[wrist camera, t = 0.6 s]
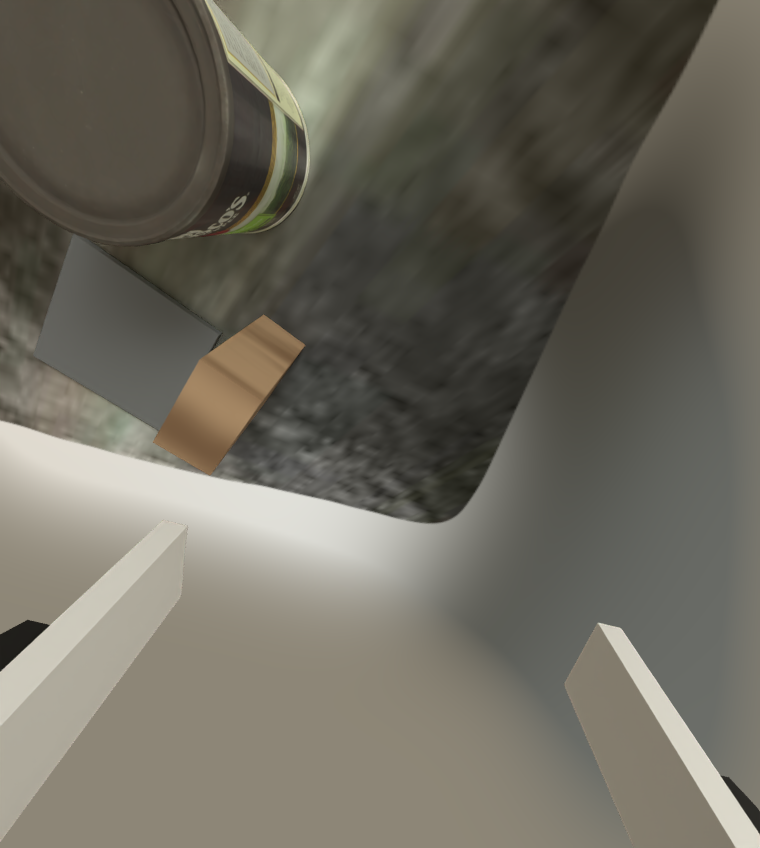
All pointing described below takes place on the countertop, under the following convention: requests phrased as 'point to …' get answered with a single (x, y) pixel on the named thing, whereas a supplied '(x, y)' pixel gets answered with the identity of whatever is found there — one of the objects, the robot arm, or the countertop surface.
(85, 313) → the rubber mat
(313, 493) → the countertop surface
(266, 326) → the tan rectangular block
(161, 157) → the coffee can
